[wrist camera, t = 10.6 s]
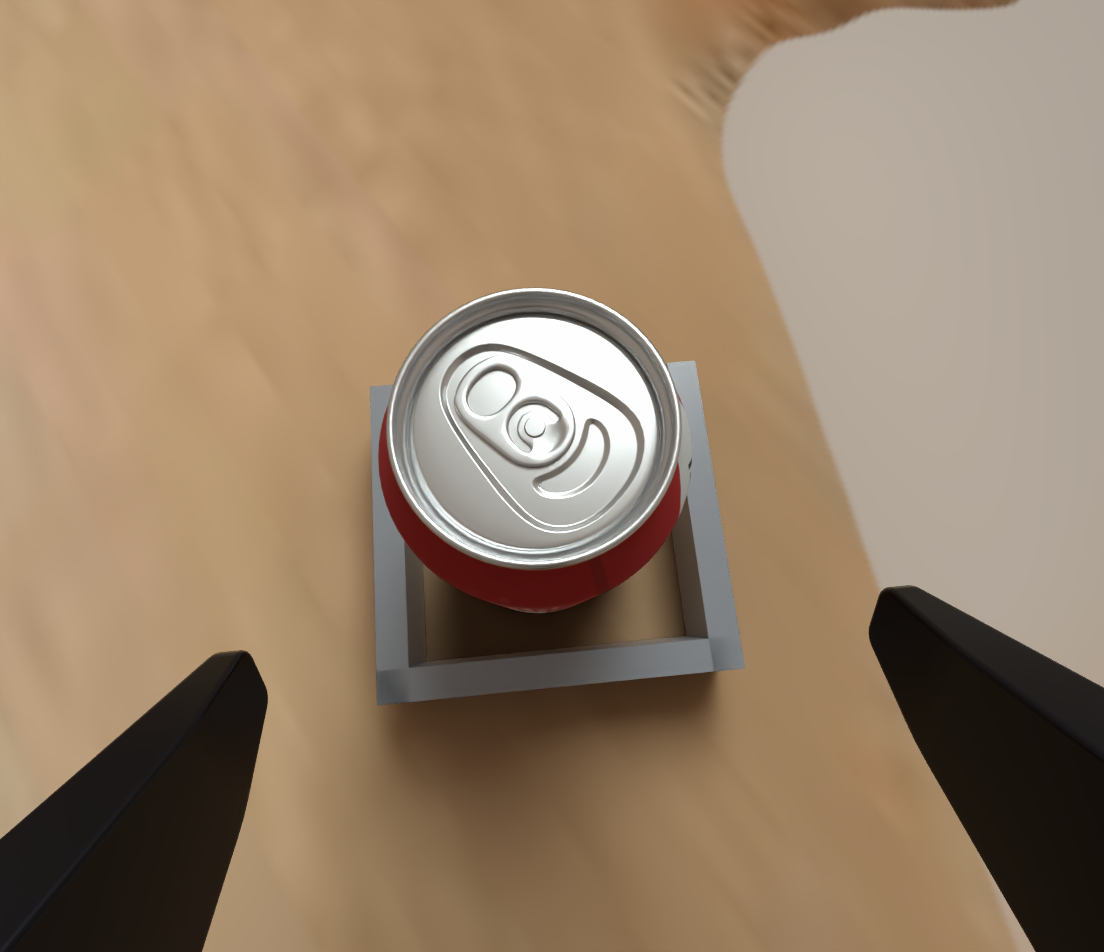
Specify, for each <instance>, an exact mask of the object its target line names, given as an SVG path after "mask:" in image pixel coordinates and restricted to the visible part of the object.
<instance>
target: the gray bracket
mask: <svg viewBox="0 0 1104 952" xmlns="http://www.w3.org/2000/svg"><path fill="white" fill-rule="evenodd" d="M666 366H667V367H668V369H669V371H670V374H671V376H672V379H673V381H674V384H675V387H676V390H677V393H678V395H679V397H680V399H681V402H682V404H683V407H684V410H685V413H686V417H687V420H688V424H689V429H690V435H691V445H692V469H691V477H690V483H689V488H688V492H687V496H686V499H685V502H684V505H683V508H682V511H681V513H680V515H679V518H678V520H677V522H676V524H675V526H674V528H673V529H672V531H671V532H672V539H673V546H674V553H675V560H676V567H677V574H678V581H679V589H680V596H681V603H682V610H683V617H684V624H685V631H686V636H681V637H671V638H660V639H650V640H640V641H630V642H620V643H609V644H599V645H589V646H579V647H569V648H558V649H548V650H538V651H528V652H518V653H508V654H497V655H487V656H477V657H467V658H457V659H446V660H436V661H427V654H426V630H425V605H424V581H423V562H422V561H421V560H420V559H419V558H418V557H417V556H416V555H415V554H414V553H413V551H412V550H411V549H410V548H409V546H408V545H407V544H406V542H405V541H404V539H403V538H402V536H401V535H400V533H399V532H398V530H397V528H396V526H395V524H394V522H393V520H392V518H391V516H390V513H389V511H388V508H387V506H386V503H385V499H384V496H383V492H382V488H381V482H380V476H379V465H378V449H379V438H380V431H381V426H382V422H383V418H384V414H385V411H386V409H387V406H388V403H389V399H390V395H391V391H392V387H393V385H384V386H372V387H370V409H371V454H372V499H373V544H374V589H375V635H376V680H377V705H385V704H395V703H405V702H415V701H425V700H435V699H445V698H455V697H465V696H475V695H485V694H495V693H505V692H515V691H524V690H534V689H544V688H554V687H564V686H574V685H584V684H594V683H604V682H614V681H624V680H634V679H644V678H654V677H664V676H673V675H683V674H693V673H703V672H713V671H723V670H733V669H743V668H745V665H744V659H743V653H742V647H741V640H740V634H739V628H738V622H737V616H736V610H735V604H734V597H733V591H732V585H731V579H730V573H729V567H728V560H727V554H726V548H725V542H724V536H723V530H722V524H721V517H720V511H719V505H718V499H717V493H716V487H715V481H714V474H713V468H712V462H711V456H710V450H709V444H708V437H707V431H706V425H705V419H704V413H703V407H702V401H701V394H700V388H699V382H698V376H697V370H696V364H695V361H685V362H673V363H667V365H666Z"/></svg>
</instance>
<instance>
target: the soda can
mask: <svg viewBox="0 0 1104 952" xmlns="http://www.w3.org/2000/svg"><path fill="white" fill-rule="evenodd" d="M378 465H379V476H380V482H381V488H382V492H383V496H384V499H385V503H386V506H387V508H388V511H389V513H390V516H391V518H392V520H393V522H394V524H395V526H396V528H397V530H398V532H399V533H400V535H401V536H402V538H403V539H404V541H405V542H406V544H407V545H408V546H409V548H410V549H411V550H412V551H413V553H414V554H415V555H416V556H417V557H418V558H419V559H420V560H421V561H422V562H423V563H424V564H425V565H426V566H427V567H428V568H429V569H430V570H431V571H433V572H434V573H435V574H436V575H437V576H439V577H440V578H441V579H443V580H444V581H446V582H447V583H449V584H451V585H452V586H454V587H455V588H457V589H459V590H461V591H463V592H465V593H467V594H469V595H472V596H474V597H477V598H479V599H482V600H485V601H488V602H491V603H494V604H497V605H500V606H503V607H506V608H510V609H513V610H517V611H522V612H527V613H549V612H556V611H560V610H564V609H567V608H570V607H573V606H575V605H578V604H580V603H582V602H584V601H587V600H589V599H591V598H594V597H596V596H598V595H600V594H602V593H605V592H607V591H609V590H611V589H612V588H614V587H616V586H617V585H619V584H621V583H623V582H624V581H625V580H627V579H628V578H630V577H631V576H632V575H634V574H635V573H636V572H637V571H638V570H640V569H641V568H642V567H643V566H644V565H645V564H646V563H647V562H648V561H649V560H650V559H651V558H652V557H653V556H654V555H655V554H656V552H657V551H658V550H659V549H660V547H661V546H662V545H663V543H664V542H665V541H666V539H667V538H668V536H669V535H670V533H671V531H672V529H673V528H674V526H675V524H676V522H677V520H678V518H679V515H680V513H681V511H682V508H683V505H684V502H685V499H686V496H687V492H688V488H689V483H690V477H691V469H692V445H691V435H690V429H689V424H688V420H687V417H686V413H685V410H684V407H683V404H682V402H681V399H680V397H679V395H678V393H677V390H676V387H675V384H674V381H673V379H672V376H671V374H670V371H669V369H668V367H667V366H666V364H665V362H664V360H663V358H662V357H661V355H660V354H659V352H658V351H657V349H656V348H655V346H654V345H653V344H652V343H651V341H650V340H649V339H648V338H647V337H646V336H645V335H644V334H643V333H642V331H641V330H640V329H639V328H638V327H636V326H635V325H634V324H633V323H632V322H630V321H629V320H628V319H627V318H625V317H624V316H623V315H621V314H620V313H618V312H617V311H615V310H614V309H612V308H610V307H608V306H606V305H605V304H603V303H600V302H598V301H596V300H594V299H592V298H589V297H586V296H583V295H580V294H577V293H573V292H569V291H564V290H558V289H551V288H518V289H510V290H505V291H500V292H496V293H492V294H489V295H485V296H483V297H480V298H477V299H475V300H472V301H470V302H468V303H466V304H464V305H462V306H460V307H458V308H457V309H455V310H453V311H452V312H450V313H449V314H447V315H446V316H445V317H443V318H442V319H441V320H439V321H438V322H437V323H435V324H434V325H433V326H432V327H431V328H430V329H429V330H428V331H427V332H426V333H425V334H424V335H423V336H422V337H421V338H420V339H419V341H418V342H417V343H416V344H415V346H414V347H413V348H412V350H411V351H410V352H409V354H408V356H407V357H406V359H405V361H404V362H403V364H402V366H401V368H400V370H399V372H398V374H397V376H396V379H395V382H394V385H393V387H392V391H391V395H390V399H389V403H388V406H387V409H386V411H385V414H384V418H383V422H382V426H381V431H380V438H379V449H378Z"/></svg>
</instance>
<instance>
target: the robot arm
mask: <svg viewBox="0 0 1104 952" xmlns="http://www.w3.org/2000/svg"><path fill="white" fill-rule="evenodd" d="M869 639H870V643H871V645H872V648H873V650H874V652H875V655H876V657H877V659H878V661H879V663H880V666H881V668H882V670H883V672H884V674H885V677H886V679H887V681H888V683H889V686H890V688H891V690H892V692H893V694H894V697H895V699H896V701H897V703H898V706H899V708H900V710H901V712H902V714H903V717H904V719H905V721H906V723H907V725H908V728H909V730H910V732H911V734H912V736H913V738H914V740H915V742H916V744H917V746H918V748H919V749H920V751H921V753H922V755H923V757H924V759H925V760H926V762H927V764H928V766H929V767H930V769H931V771H932V773H933V774H934V776H935V778H936V780H937V781H938V783H939V785H940V786H941V788H942V790H943V792H944V793H945V795H946V797H947V799H948V800H949V802H950V804H951V806H952V807H953V809H954V811H955V813H956V814H957V816H958V818H959V819H960V821H961V823H962V825H963V826H964V828H965V830H966V832H967V833H968V835H969V837H970V839H971V840H972V842H973V844H974V846H975V847H976V849H977V851H978V852H979V854H980V856H981V858H982V859H983V861H984V863H985V865H986V866H987V868H988V870H989V872H990V873H991V875H992V877H993V879H994V880H995V882H996V884H997V885H998V887H999V889H1000V891H1001V892H1002V894H1003V896H1004V898H1005V899H1006V901H1007V903H1008V904H1009V906H1010V908H1011V910H1012V911H1013V913H1014V915H1015V917H1016V918H1017V920H1018V922H1019V924H1020V925H1021V927H1022V929H1023V930H1024V932H1025V934H1026V936H1027V937H1028V939H1029V941H1030V943H1031V945H1032V946H1033V948H1034V950H1035V951H1036V952H1104V688H1103V687H1101V686H1100V685H1098V684H1096V683H1094V682H1092V681H1090V680H1088V679H1086V678H1085V677H1083V676H1081V675H1079V674H1077V673H1076V672H1073V671H1072V670H1070V669H1068V668H1066V667H1064V666H1063V665H1061V664H1059V663H1057V662H1055V661H1053V660H1052V659H1050V658H1048V657H1046V656H1044V655H1042V654H1040V653H1039V652H1037V651H1035V650H1033V649H1031V648H1029V647H1027V646H1026V645H1023V644H1022V643H1020V642H1018V641H1016V640H1015V639H1013V638H1011V637H1009V636H1007V635H1005V634H1003V633H1002V632H1000V631H998V630H996V629H994V628H992V627H990V626H989V625H987V624H985V623H983V622H981V621H979V620H977V619H976V618H974V617H972V616H970V615H968V614H966V613H964V612H963V611H961V610H959V609H957V608H955V607H953V606H952V605H950V604H947V603H946V602H944V601H942V600H940V599H939V598H936V597H935V596H933V595H931V594H929V593H927V592H925V591H924V590H922V589H920V588H918V587H915V586H909V585H907V586H896V587H887V588H885V589H883V590H882V591H881V592H880V595H879V597H878V600H877V604H876V607H875V610H874V613H873V616H872V619H871V622H870V626H869ZM267 704H268V694H267V689H266V686H265V684H264V682H263V680H262V678H261V675H260V673H259V671H258V669H257V667H256V665H255V662H254V660H253V658H252V656H251V655H250V654H249V653H248V652H247V651H243V650H239V651H229V652H220V653H216V654H214V655H212V656H211V657H210V658H208V659H207V660H206V661H205V662H204V663H203V664H201V665H200V666H199V667H198V668H197V669H196V670H195V671H193V672H192V673H191V674H190V675H189V676H188V677H186V678H185V679H184V680H183V681H182V682H181V683H180V684H178V685H177V686H176V687H175V688H174V689H173V690H171V691H170V692H169V693H168V694H167V695H166V696H165V697H163V698H162V699H161V700H160V701H159V702H158V703H157V704H155V705H154V706H153V707H152V708H151V709H150V710H148V711H147V712H146V713H145V714H144V715H143V716H142V717H140V718H139V719H138V720H137V721H136V722H135V723H133V724H132V725H131V726H130V727H129V728H128V729H127V730H125V731H124V732H123V733H122V734H121V735H120V736H119V737H117V738H116V739H115V740H114V741H113V742H112V743H110V744H109V745H108V746H107V747H106V748H105V749H104V750H102V751H101V752H100V753H99V754H98V755H97V756H96V757H94V758H93V759H92V760H91V761H90V762H89V763H87V764H86V765H85V766H84V767H83V768H82V769H81V770H79V771H78V772H77V773H76V774H75V775H74V776H72V777H71V778H70V779H69V780H68V781H67V782H66V783H64V784H63V785H62V786H61V787H60V788H59V789H58V790H56V791H55V792H54V793H53V794H52V795H51V796H49V797H48V798H47V799H46V800H45V801H44V802H43V803H41V804H40V805H39V806H38V807H37V808H36V809H34V810H33V811H32V812H31V813H30V814H29V815H28V816H26V817H25V818H24V819H23V820H22V821H21V822H20V823H18V824H17V825H16V826H15V827H14V828H13V829H11V830H10V831H9V832H8V833H7V834H6V835H5V836H3V837H2V838H1V839H0V952H202V950H203V947H204V943H205V940H206V937H207V934H208V931H209V928H210V924H211V921H212V918H213V915H214V912H215V909H216V905H217V902H218V899H219V896H220V893H221V890H222V886H223V883H224V880H225V877H226V874H227V871H228V867H229V864H230V861H231V858H232V855H233V852H234V848H235V845H236V842H237V839H238V836H239V832H240V829H241V825H242V822H243V819H244V815H245V810H246V806H247V802H248V798H249V793H250V788H251V783H252V778H253V773H254V768H255V763H256V759H257V754H258V749H259V744H260V739H261V734H262V729H263V724H264V719H265V715H266V710H267Z"/></svg>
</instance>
